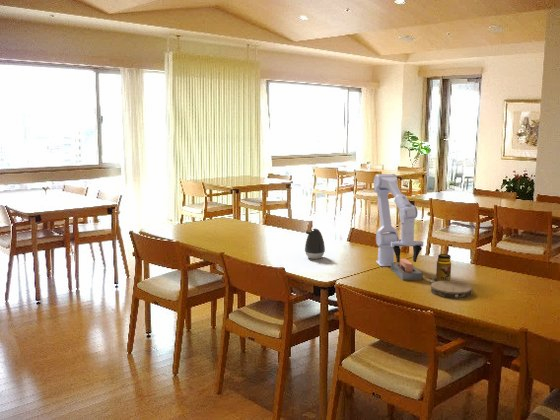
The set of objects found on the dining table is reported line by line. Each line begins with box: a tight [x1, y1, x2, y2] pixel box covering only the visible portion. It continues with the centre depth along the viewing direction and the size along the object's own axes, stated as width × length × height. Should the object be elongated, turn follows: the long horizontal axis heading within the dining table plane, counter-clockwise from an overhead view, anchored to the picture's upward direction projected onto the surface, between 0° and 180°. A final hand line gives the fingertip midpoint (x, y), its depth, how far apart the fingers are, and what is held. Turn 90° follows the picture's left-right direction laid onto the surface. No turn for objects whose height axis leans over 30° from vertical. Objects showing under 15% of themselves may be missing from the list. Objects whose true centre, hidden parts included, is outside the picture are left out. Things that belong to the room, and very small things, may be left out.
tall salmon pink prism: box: [399, 258, 414, 272], centre depth 258 cm, size 10×3×6 cm, turn 5°
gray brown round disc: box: [430, 280, 473, 300], centre depth 231 cm, size 16×16×3 cm
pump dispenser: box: [304, 228, 326, 260], centre depth 287 cm, size 10×10×15 cm
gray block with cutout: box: [390, 262, 423, 281], centre depth 258 cm, size 18×9×3 cm, turn 5°
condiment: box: [429, 253, 453, 283], centre depth 246 cm, size 7×8×12 cm
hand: (406, 261), depth 257 cm, fingers open, 7 cm apart
